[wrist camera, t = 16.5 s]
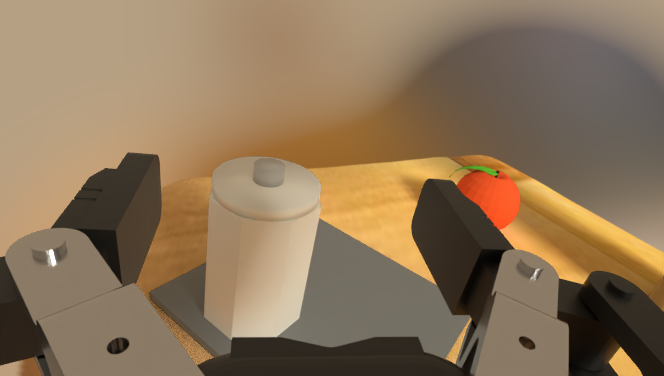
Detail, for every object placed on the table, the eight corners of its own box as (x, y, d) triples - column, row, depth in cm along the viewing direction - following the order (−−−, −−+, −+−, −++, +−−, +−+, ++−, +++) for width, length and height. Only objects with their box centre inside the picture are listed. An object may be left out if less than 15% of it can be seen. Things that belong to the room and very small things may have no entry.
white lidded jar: (254, 261, 32) (268, 135, 27) (315, 304, 29) (344, 172, 24) (186, 301, 28) (188, 156, 22) (251, 357, 25) (271, 206, 19)
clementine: (426, 220, 45) (446, 163, 41) (446, 199, 50) (465, 147, 47) (498, 254, 41) (526, 194, 38) (511, 228, 47) (536, 174, 43)
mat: (304, 215, 41) (305, 210, 41) (472, 312, 33) (475, 307, 32) (149, 298, 28) (149, 292, 28) (363, 493, 20) (366, 487, 19)
